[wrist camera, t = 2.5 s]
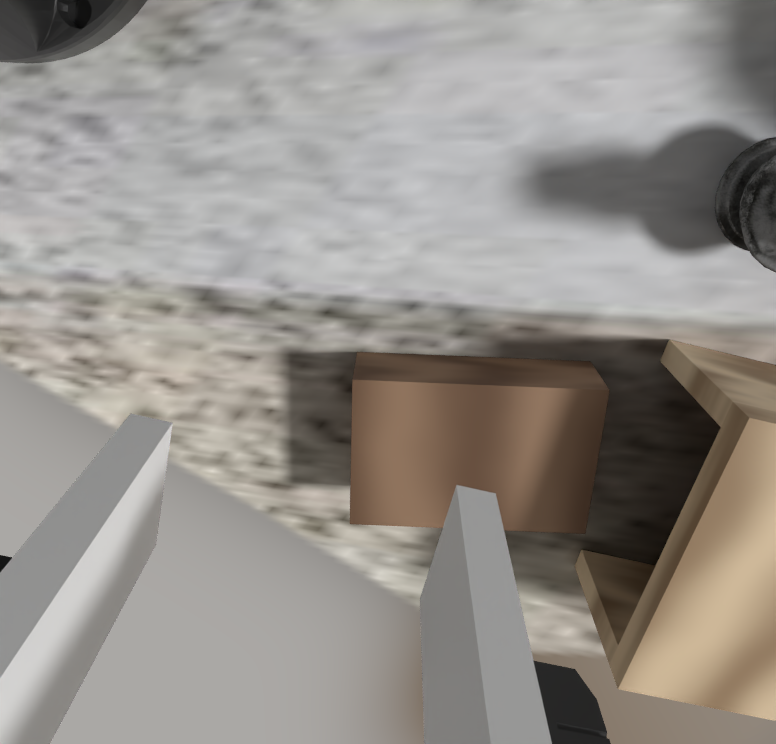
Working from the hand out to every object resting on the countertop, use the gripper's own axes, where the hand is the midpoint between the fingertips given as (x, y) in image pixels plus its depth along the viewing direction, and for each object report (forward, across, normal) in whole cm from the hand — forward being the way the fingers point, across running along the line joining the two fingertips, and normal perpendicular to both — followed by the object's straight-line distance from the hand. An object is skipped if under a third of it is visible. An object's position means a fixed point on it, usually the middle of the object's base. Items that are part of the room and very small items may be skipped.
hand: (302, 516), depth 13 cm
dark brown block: (+23, +8, -8) cm, 26 cm away
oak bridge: (+23, +21, -8) cm, 32 cm away
